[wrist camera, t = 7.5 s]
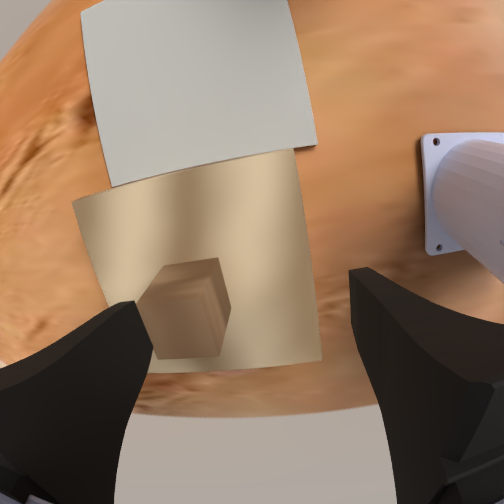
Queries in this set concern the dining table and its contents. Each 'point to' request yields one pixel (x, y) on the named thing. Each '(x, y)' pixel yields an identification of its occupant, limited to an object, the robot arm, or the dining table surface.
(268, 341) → the oak lid
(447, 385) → the robot arm
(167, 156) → the rubber mat
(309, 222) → the dining table surface
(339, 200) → the dining table surface
